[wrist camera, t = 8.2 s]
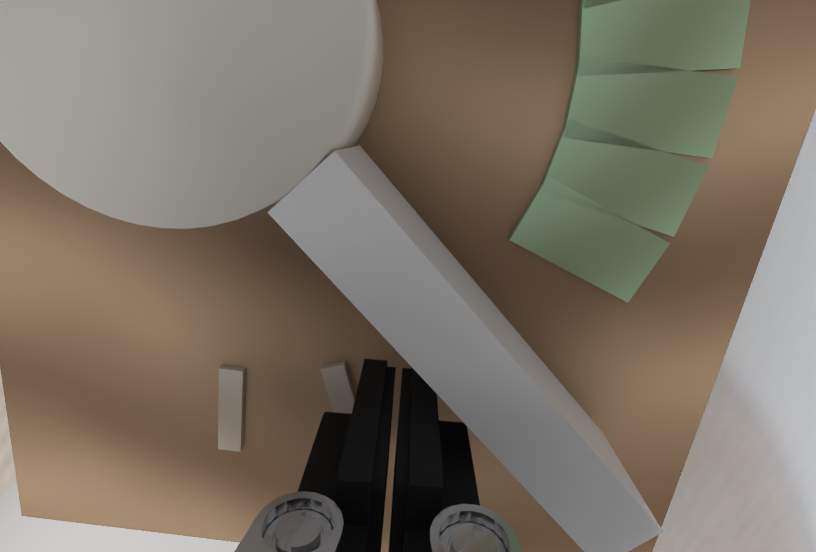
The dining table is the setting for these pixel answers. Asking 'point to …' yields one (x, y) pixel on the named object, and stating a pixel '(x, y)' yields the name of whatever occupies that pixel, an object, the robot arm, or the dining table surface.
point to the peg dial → (295, 198)
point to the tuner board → (459, 232)
